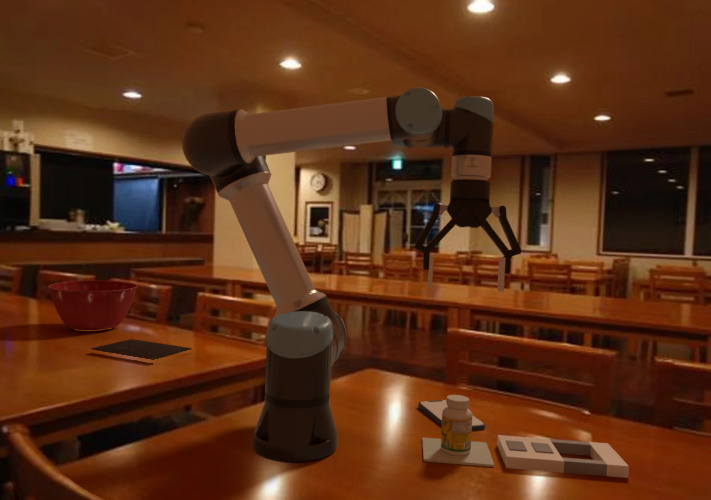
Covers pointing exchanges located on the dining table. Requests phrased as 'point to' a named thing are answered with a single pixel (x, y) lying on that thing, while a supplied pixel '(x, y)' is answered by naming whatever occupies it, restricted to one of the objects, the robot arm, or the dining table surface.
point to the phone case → (436, 409)
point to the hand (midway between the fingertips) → (464, 289)
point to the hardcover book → (141, 349)
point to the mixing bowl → (92, 303)
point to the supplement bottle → (456, 426)
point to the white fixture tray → (547, 456)
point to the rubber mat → (476, 456)
